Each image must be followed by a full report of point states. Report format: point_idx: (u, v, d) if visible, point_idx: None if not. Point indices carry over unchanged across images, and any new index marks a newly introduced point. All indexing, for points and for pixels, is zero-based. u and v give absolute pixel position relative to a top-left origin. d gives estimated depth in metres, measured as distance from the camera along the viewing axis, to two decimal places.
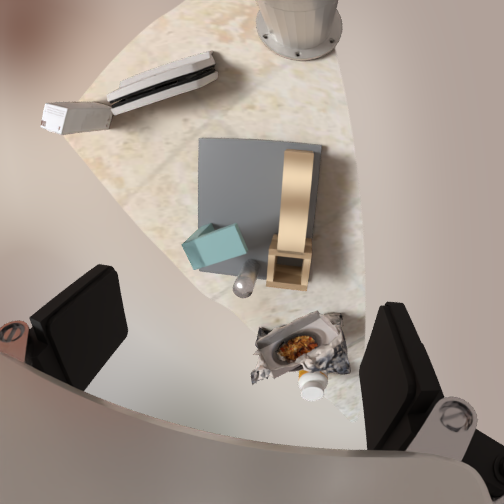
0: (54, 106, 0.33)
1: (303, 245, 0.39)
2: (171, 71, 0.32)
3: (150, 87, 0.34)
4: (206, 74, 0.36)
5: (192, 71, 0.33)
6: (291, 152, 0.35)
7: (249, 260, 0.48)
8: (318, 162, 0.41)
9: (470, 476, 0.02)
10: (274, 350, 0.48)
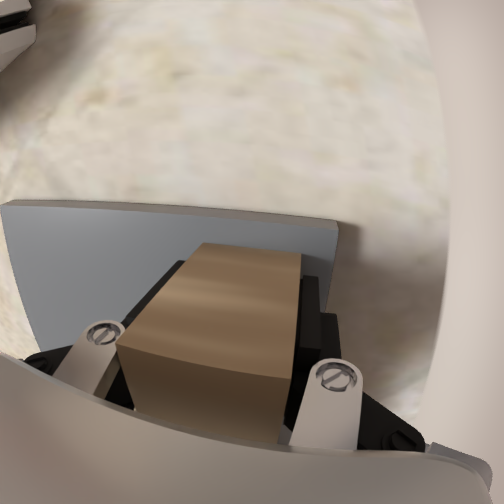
0: None
1: None
2: None
3: None
4: None
5: None
6: (151, 357, 0.05)
7: None
8: (322, 294, 0.11)
9: (470, 476, 0.02)
10: None
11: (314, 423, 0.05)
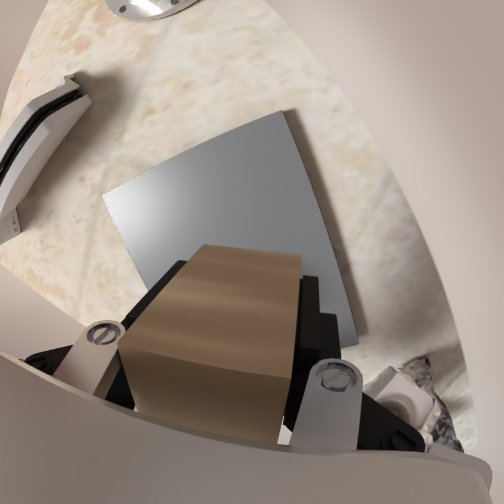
0: None
1: None
2: (8, 131, 0.17)
3: (0, 167, 0.19)
4: (62, 106, 0.20)
5: (31, 114, 0.17)
6: (153, 357, 0.06)
7: None
8: (291, 141, 0.21)
9: (470, 476, 0.02)
10: None
11: (314, 423, 0.05)
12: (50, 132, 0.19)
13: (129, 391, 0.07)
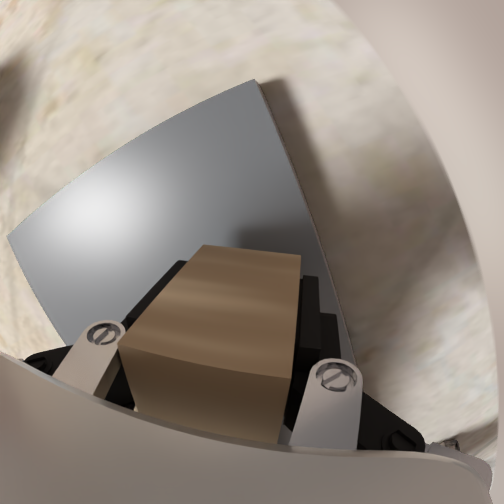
0: None
1: None
2: None
3: None
4: None
5: None
6: (153, 357, 0.06)
7: None
8: (274, 142, 0.10)
9: (470, 476, 0.02)
10: None
11: (314, 423, 0.05)
12: None
13: (129, 391, 0.07)
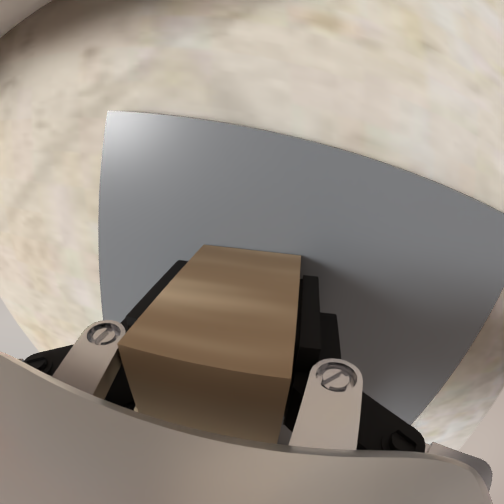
0: None
1: None
2: None
3: None
4: None
5: None
6: (153, 357, 0.06)
7: None
8: None
9: (470, 476, 0.02)
10: None
11: (314, 423, 0.05)
12: None
13: (129, 391, 0.07)
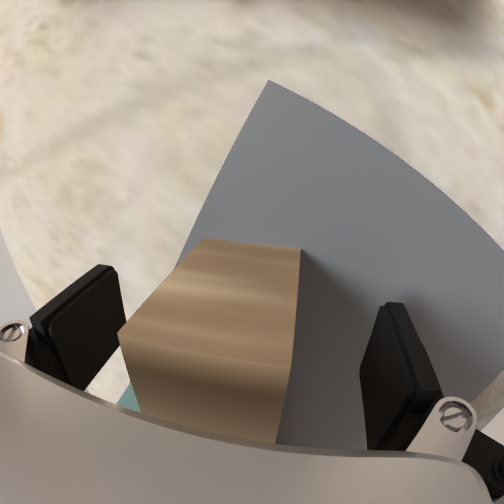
0: None
1: None
2: None
3: None
4: None
5: None
6: (153, 346, 0.06)
7: None
8: None
9: (470, 476, 0.02)
10: None
11: None
12: None
13: None
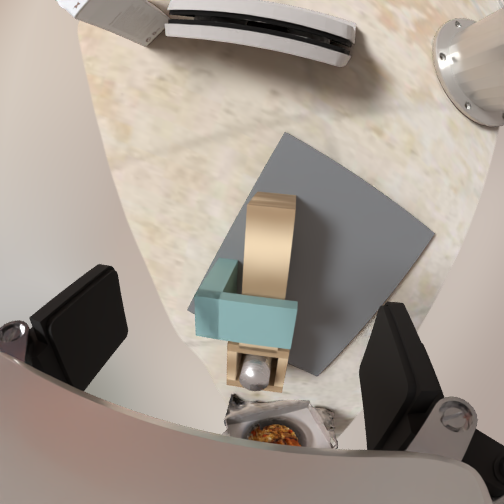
0: None
1: None
2: (312, 15, 0.15)
3: (260, 19, 0.16)
4: (346, 52, 0.19)
5: (343, 36, 0.16)
6: (258, 207, 0.22)
7: None
8: (419, 252, 0.27)
9: (470, 476, 0.02)
10: (245, 434, 0.34)
11: None
12: (332, 64, 0.18)
13: None
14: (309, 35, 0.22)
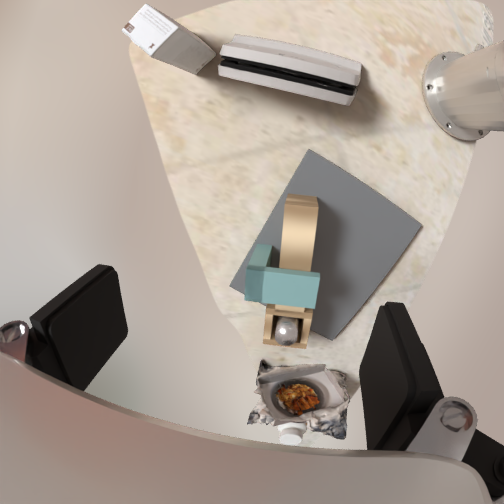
0: (158, 14, 0.21)
1: None
2: (330, 69, 0.24)
3: (293, 71, 0.25)
4: (354, 91, 0.28)
5: (351, 83, 0.25)
6: (292, 206, 0.31)
7: None
8: (410, 239, 0.36)
9: (470, 476, 0.02)
10: (273, 392, 0.44)
11: None
12: None
13: None
14: None
